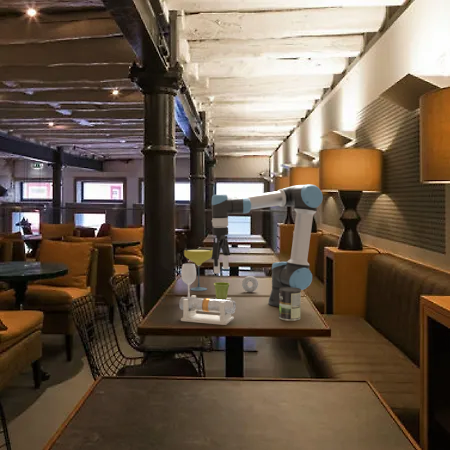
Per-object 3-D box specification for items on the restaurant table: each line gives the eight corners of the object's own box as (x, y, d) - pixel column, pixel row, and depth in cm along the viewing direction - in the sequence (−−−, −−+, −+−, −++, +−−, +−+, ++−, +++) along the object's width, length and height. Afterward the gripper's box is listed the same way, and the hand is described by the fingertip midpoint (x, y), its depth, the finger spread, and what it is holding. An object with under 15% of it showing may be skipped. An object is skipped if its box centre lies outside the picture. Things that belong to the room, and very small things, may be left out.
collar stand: (233, 318, 231) (233, 297, 231) (225, 324, 220) (225, 303, 219) (190, 315, 238) (190, 294, 238) (180, 320, 227) (180, 299, 226)
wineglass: (184, 304, 263) (184, 265, 262) (178, 301, 271) (178, 263, 270) (199, 302, 267) (199, 264, 266) (192, 299, 275) (192, 262, 274)
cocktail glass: (212, 292, 298) (212, 251, 296) (183, 292, 298) (182, 251, 297) (213, 286, 316) (213, 248, 314) (185, 286, 316) (185, 248, 315)
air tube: (235, 312, 227) (235, 299, 227) (231, 314, 221) (231, 301, 222) (184, 308, 236) (184, 296, 236) (179, 310, 230) (179, 297, 230)
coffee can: (279, 320, 228) (280, 290, 227) (278, 315, 238) (278, 287, 237) (302, 321, 227) (302, 291, 226) (299, 315, 237) (299, 287, 237)
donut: (258, 291, 300) (258, 275, 299) (258, 292, 296) (258, 276, 296) (241, 291, 300) (241, 275, 299) (241, 292, 296) (241, 276, 296)
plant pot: (230, 297, 283) (230, 282, 282) (229, 300, 273) (229, 285, 273) (214, 296, 284) (214, 282, 283) (212, 300, 274) (212, 284, 274)
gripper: (221, 225, 245) (222, 266, 247) (203, 228, 222) (205, 275, 223) (235, 225, 243) (236, 267, 244) (219, 228, 219) (220, 275, 221)
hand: (221, 271), depth 234 cm, fingers open, 13 cm apart
